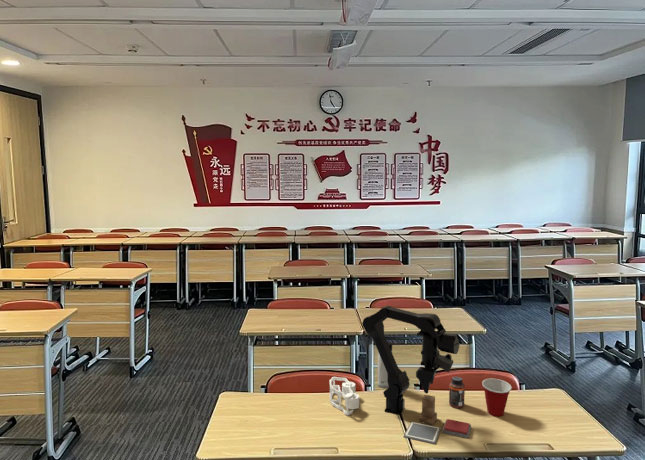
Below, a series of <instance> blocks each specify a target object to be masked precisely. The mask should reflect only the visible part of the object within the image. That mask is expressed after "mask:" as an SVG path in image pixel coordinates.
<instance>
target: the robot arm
mask: <svg viewBox="0 0 645 460" xmlns="http://www.w3.org/2000/svg"><path fill="white" fill-rule="evenodd" d="M387 319H390V320H391V319H392V320H394V321H398V322H403V323H406V324H409V325H412V326H415V327H416V328H417V329H419V331H418V332H417V333H416V335H417V336H421V337H422V338H421V339H422V342H421V343H422V344H421V347H422V348H421V351H420V355H421V361H420V366H419V367H418V368H417V370H416V371H415V377H416V378H417V379H418V381H419V383H420V385H421V387H422V390H423V392H424V393H425V395H428V394H429V390H430V385H433V383H434V380H435V378H436V377H435V376H436V372H437V371H438V370H439V369H442V370H444V371H445V372H446V373H450V371H451V369H452V366H453V364H454V359H452V354H454V355H457V354H458V353H459V350H460V341H459V340H460V339H458V335H457V334H452V333H451V334H450V333H447V330H446V329H445V327H444V326H443V324H442V323H441V319H440V317H439V315H437V314H436V313H418V312H412V311H409V310H405V309H400V308H396V307H394V306H393V307H392V306H391V305H385V306H383V307H382V308H380V309H379V310H378V311H376V312H375V313H373V314H370V315H368V316H366V317H365V318H364V319H363V320H362V324H361V325H362V328H363V330H364V331H365V333H366V334H367V335H368V336H369V337H370V338H371V339H372V340H373V342H374V345H375V347H376V350H377V353H378V352H379V355H380V357H381V359H382V362H383V364H384V366H385V369H386V371H387V382H388V386H389V388H388V389H385V390H383V392H382V393H383V396H384V398H385V409H384V412H386V413H390V414H396V415H401V414H402V413H403V411H405V400H406V399H405V398H404V394H405V393H406V391H407V390H408V389H409V388H410V380H411V379H410V378H409V377H408V374H407V371H406V370H404V371H402V370H401V369H400V368H399V365H398V364H397V362H396V359H395V357H394V354H393V351H392V352H391V350H390V347H389V345H388V343H387V342H388V341H387V337H386V336H385V325H384V322H385V321H386V320H387ZM440 352H442V353H443V352H444V353H446V354H445V355H444V354H440Z"/></svg>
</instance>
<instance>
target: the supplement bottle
mask: <svg viewBox="0 0 645 460" xmlns="http://www.w3.org/2000/svg"><path fill="white" fill-rule="evenodd" d="M448 392H449V394H448V395H449V397H448V403H449V406H450V407H452V408H454V407H455V409H461V408H463V407H465V393H466V391H465V384H464V382H463V378H462V377H460V376H452V379H451V382H450V383H449V391H448Z"/></svg>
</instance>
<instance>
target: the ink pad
mask: <svg viewBox="0 0 645 460" xmlns="http://www.w3.org/2000/svg"><path fill="white" fill-rule="evenodd" d="M471 430H472V424H471V423H468V422H466V421H465V422H464V421H459V420H454V419H449V418H447V419H446V420H445V422H444V424H443V427H442V429H441V431H442V434H446V435H449V436H451V435H452V436H456V437H460V438H464V439H469V437H470V434H471Z"/></svg>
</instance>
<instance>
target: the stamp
mask: <svg viewBox="0 0 645 460" xmlns="http://www.w3.org/2000/svg"><path fill="white" fill-rule="evenodd" d="M421 402H422V403H421V412H420V414H419V418H418V419H419V423H421V424H425V425H430V426H434V425H435V424H436V420H437V419H438V412H436V396H434V395H428V394H424V395H423V397H422V399H421Z"/></svg>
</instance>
